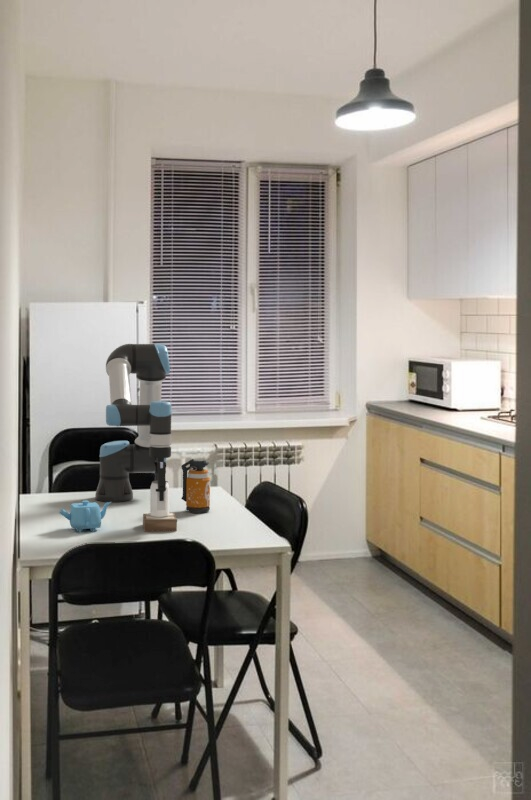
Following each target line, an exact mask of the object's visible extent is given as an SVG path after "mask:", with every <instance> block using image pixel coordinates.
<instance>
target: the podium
mask: <svg viewBox="0 0 531 800" xmlns="http://www.w3.org/2000/svg"><path fill="white" fill-rule="evenodd" d="M177 522H178V519H177V516H176V514H175V512H169V515H168V516H167V517H160V518H159V517H152V516H151V515H150V512H149V513H148V512H145V513H142V526H143V530H144V533H149V532H177V531H178V529H177V528H178V523H177Z"/></svg>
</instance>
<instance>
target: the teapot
mask: <svg viewBox="0 0 531 800" xmlns="http://www.w3.org/2000/svg"><path fill="white" fill-rule="evenodd" d="M112 503H113V502H105V503H104V505H103V507H102V510H101V507H100V505H99V504H98V502H96V501H94V502H90V501H89V500H82V501H81V502H78V503H76V502H75V503H71V504H70V511H69V512H67V511H66V510H65V509H63V508H62V509H60V511H59V512H58V513H59V515H62V516H63V517H64V518H65V519H67V520H68V521H69V525H70V528H71V529H72V530H76V531H75V532H76V533H82V532H83V530H87V529H90V532H97V531H98V530H97V529H100V528H101V527H102V520H103V519H104V518H105V516H106V512H107V509H108V506H109V505H110V504H112Z"/></svg>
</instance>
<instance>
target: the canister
mask: <svg viewBox="0 0 531 800" xmlns="http://www.w3.org/2000/svg"><path fill="white" fill-rule="evenodd" d="M209 464H210V463H209V462H208V461H207V460H197V459H193V458H192V459H190V460H188V461H186V462H185V463H184V464H181V465H180V466H181V469H182V496H181V498H180V499H181V500H182V501H183V502H186V503H185V505H186V508H185V510H186V511H187V512H190V513H193V514H203V513H207V512H208V511H210V510H211V507H210V505H211V504H210V502H211V495H210V494H211V478H210V475H209V470H208V469H205V468H206V467H207V466H208V465H209ZM188 465H189V466H188ZM187 466H188V467H187Z"/></svg>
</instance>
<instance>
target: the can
mask: <svg viewBox="0 0 531 800" xmlns="http://www.w3.org/2000/svg"><path fill="white" fill-rule="evenodd" d="M156 489H158V481H155V480H153V481H151V485H150V492H149V493H150V495H149V496H150V497H149V498H150V499H149V500H150V503H149V504H150V507H149V508H150V511H149V513H150V515H151V516H152V517H159V518H160V517H167V516H168V515H169V513H170V485H169V482H168V481H167V480H166V491H165V510H157V492H156Z"/></svg>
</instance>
